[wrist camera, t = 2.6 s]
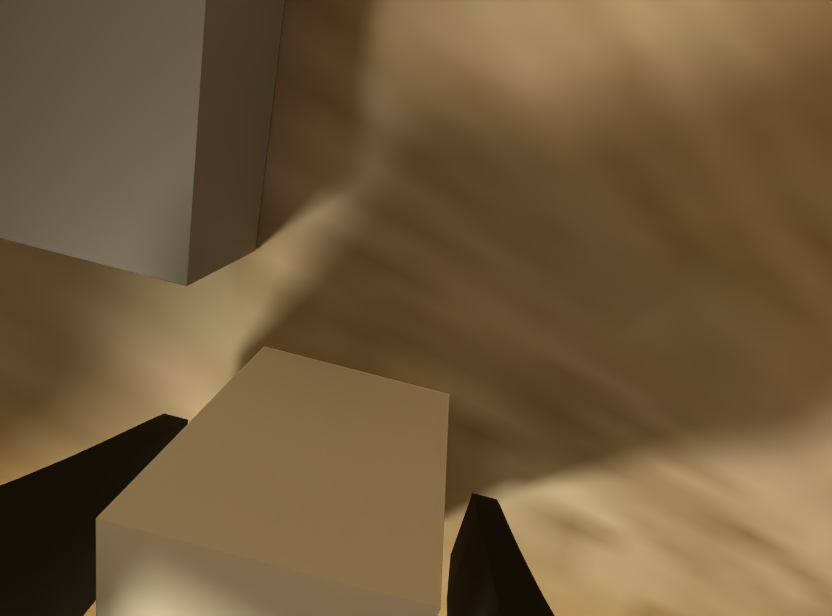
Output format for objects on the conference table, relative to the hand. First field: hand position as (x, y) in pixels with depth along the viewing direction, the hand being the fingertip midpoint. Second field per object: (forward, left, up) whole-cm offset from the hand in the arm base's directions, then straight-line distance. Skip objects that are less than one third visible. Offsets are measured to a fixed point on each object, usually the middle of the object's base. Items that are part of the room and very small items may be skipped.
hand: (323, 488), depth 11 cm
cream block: (0, 0, -2) cm, 2 cm away
